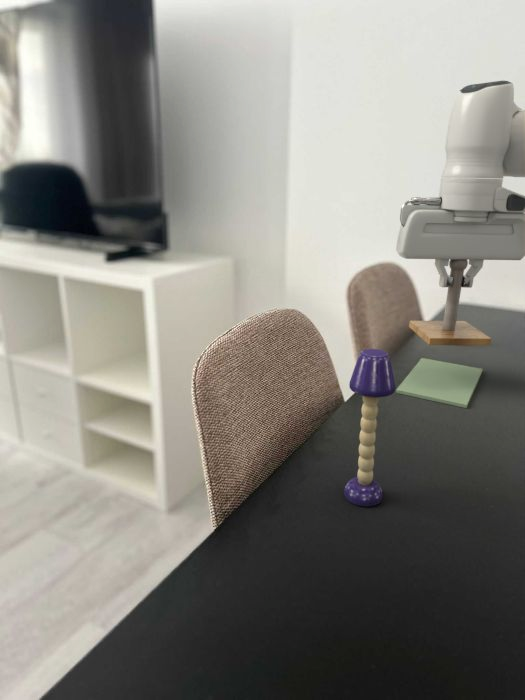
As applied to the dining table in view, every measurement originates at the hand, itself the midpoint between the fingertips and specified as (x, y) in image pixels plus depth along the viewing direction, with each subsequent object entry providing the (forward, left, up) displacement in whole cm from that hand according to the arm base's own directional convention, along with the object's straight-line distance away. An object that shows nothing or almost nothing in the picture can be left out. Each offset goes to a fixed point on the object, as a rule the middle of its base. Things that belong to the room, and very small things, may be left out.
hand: (455, 286), depth 83 cm
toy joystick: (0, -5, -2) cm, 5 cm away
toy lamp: (+22, +32, -17) cm, 42 cm away
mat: (0, 0, -17) cm, 17 cm away
